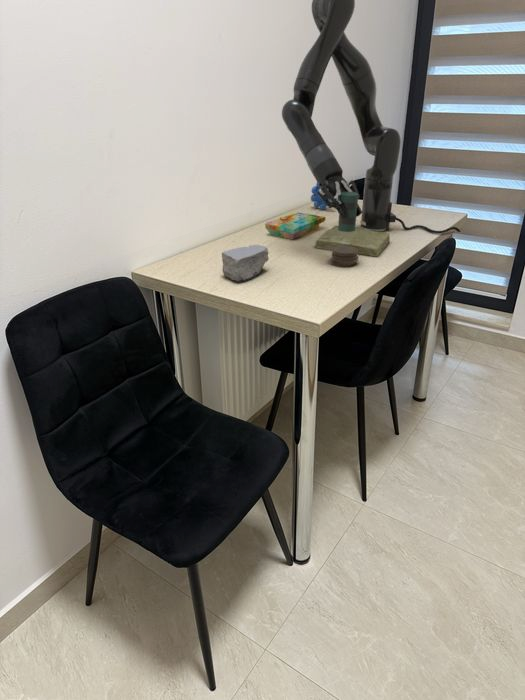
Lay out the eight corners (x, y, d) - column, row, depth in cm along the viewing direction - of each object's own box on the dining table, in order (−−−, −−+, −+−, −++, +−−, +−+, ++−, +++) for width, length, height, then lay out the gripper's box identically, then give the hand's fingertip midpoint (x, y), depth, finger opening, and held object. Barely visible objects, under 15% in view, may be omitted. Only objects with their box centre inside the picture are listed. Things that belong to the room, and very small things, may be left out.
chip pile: (353, 258, 155) (354, 245, 153) (360, 266, 148) (362, 253, 146) (327, 259, 154) (328, 246, 152) (334, 268, 147) (335, 254, 146)
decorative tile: (376, 257, 156) (378, 245, 154) (314, 247, 164) (315, 236, 162) (392, 241, 170) (393, 230, 169) (334, 233, 178) (335, 222, 177)
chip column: (352, 227, 149) (355, 191, 144) (357, 231, 145) (360, 195, 140) (336, 227, 148) (338, 191, 144) (340, 232, 144) (343, 195, 139)
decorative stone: (216, 281, 139) (249, 285, 135) (214, 256, 135) (248, 259, 132) (240, 265, 150) (271, 268, 147) (238, 241, 147) (271, 244, 144)
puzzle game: (265, 221, 174) (297, 209, 188) (265, 234, 176) (297, 222, 190) (294, 226, 168) (325, 214, 182) (294, 241, 170) (324, 227, 184)
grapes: (340, 210, 207) (342, 179, 201) (330, 213, 202) (332, 181, 197) (316, 205, 214) (318, 175, 208) (306, 208, 209) (308, 177, 203)
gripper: (313, 159, 138) (344, 212, 136) (348, 154, 147) (377, 204, 145) (298, 176, 144) (328, 228, 142) (332, 171, 153) (360, 219, 151)
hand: (353, 216), depth 143 cm, fingers closed on chip column, 5 cm apart
